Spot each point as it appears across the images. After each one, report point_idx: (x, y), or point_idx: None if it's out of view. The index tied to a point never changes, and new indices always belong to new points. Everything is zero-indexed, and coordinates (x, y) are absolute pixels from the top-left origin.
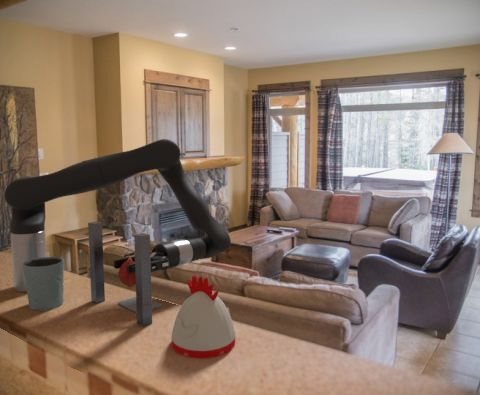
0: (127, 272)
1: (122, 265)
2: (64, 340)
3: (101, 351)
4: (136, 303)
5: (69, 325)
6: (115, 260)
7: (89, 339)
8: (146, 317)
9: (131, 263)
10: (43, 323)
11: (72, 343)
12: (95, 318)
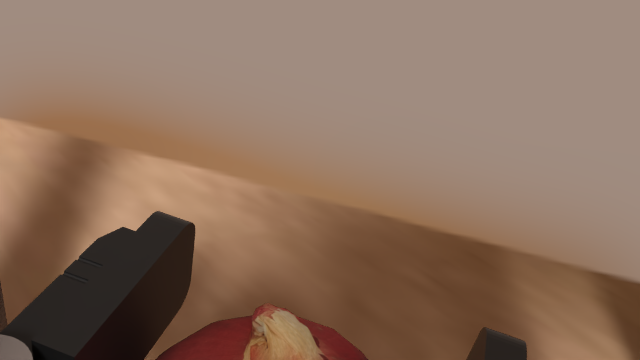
0: (185, 286)
1: (343, 337)
2: (283, 198)
3: (83, 165)
4: (2, 300)
5: (383, 291)
6: (504, 335)
7: (192, 217)
8: None
9: (217, 348)
10: (502, 280)
11: (235, 188)
12: None
